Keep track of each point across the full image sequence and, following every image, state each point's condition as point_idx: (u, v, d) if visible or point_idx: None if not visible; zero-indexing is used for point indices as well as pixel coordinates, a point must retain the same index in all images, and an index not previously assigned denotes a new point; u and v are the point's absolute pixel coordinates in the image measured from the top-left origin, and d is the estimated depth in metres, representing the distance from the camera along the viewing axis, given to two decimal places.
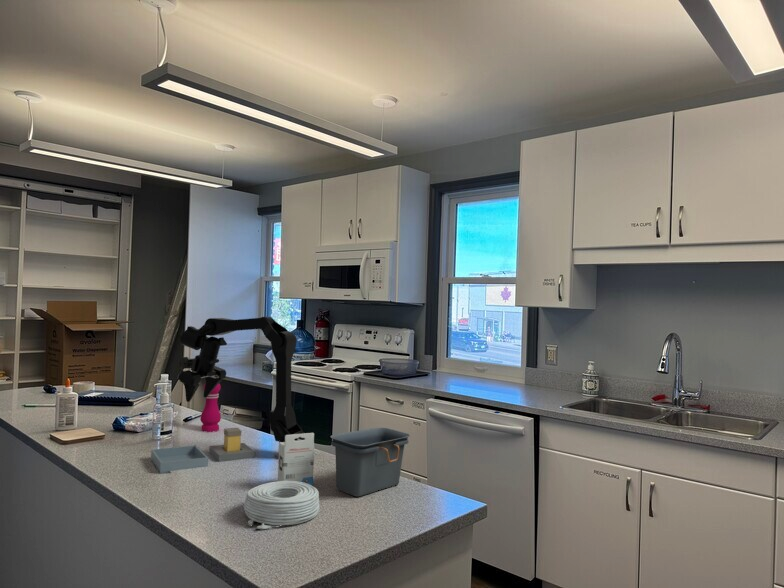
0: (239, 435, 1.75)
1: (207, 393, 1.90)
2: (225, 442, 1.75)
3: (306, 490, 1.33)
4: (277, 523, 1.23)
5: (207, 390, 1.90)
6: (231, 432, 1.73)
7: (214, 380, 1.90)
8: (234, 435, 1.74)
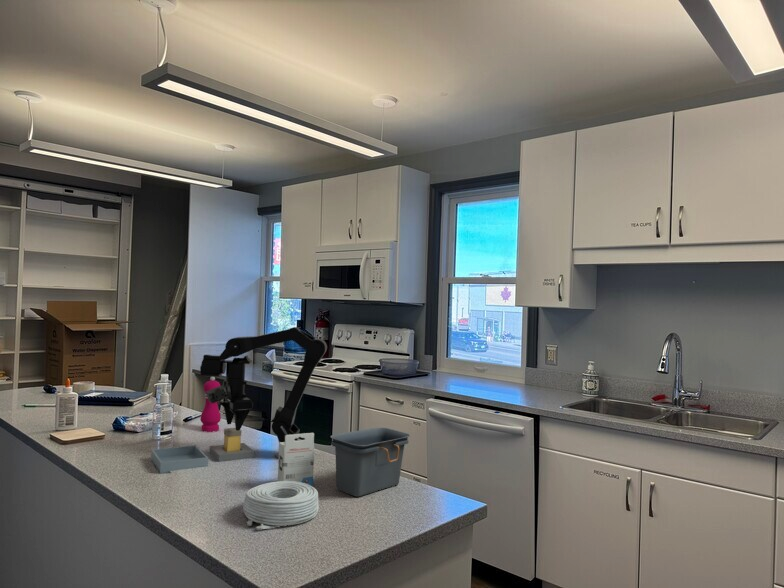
0: (239, 435, 1.75)
1: (231, 419, 1.80)
2: (225, 442, 1.75)
3: (305, 490, 1.33)
4: (276, 523, 1.23)
5: (230, 416, 1.80)
6: (231, 432, 1.73)
7: None
8: (234, 435, 1.74)
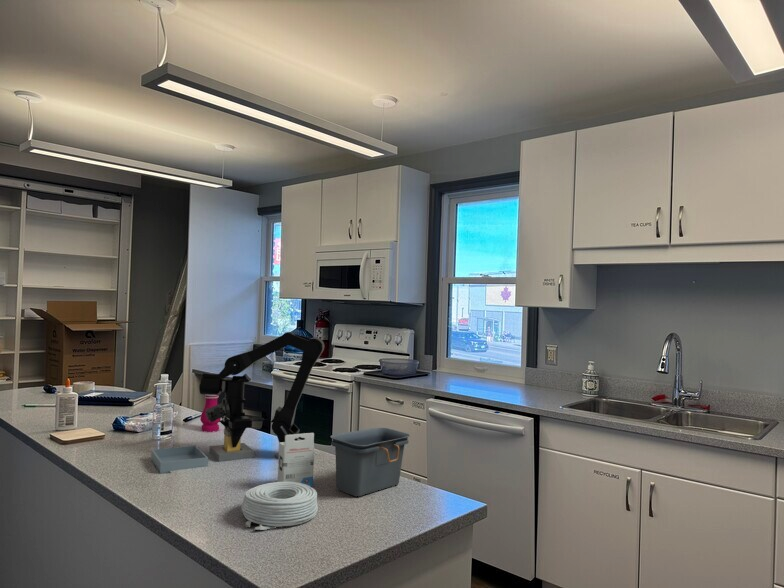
0: None
1: None
2: (225, 442, 1.75)
3: (304, 491, 1.32)
4: (275, 524, 1.22)
5: None
6: None
7: None
8: None
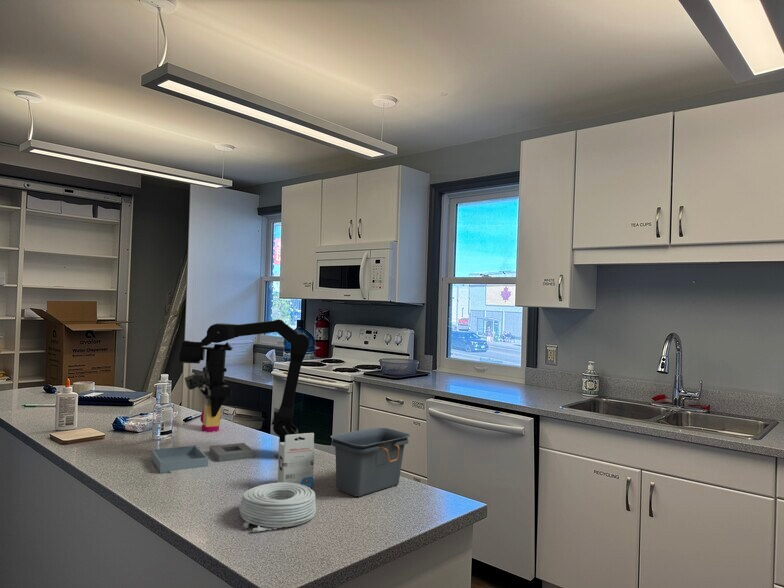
0: None
1: None
2: (205, 411, 1.71)
3: (302, 492, 1.32)
4: (273, 525, 1.22)
5: None
6: None
7: None
8: None
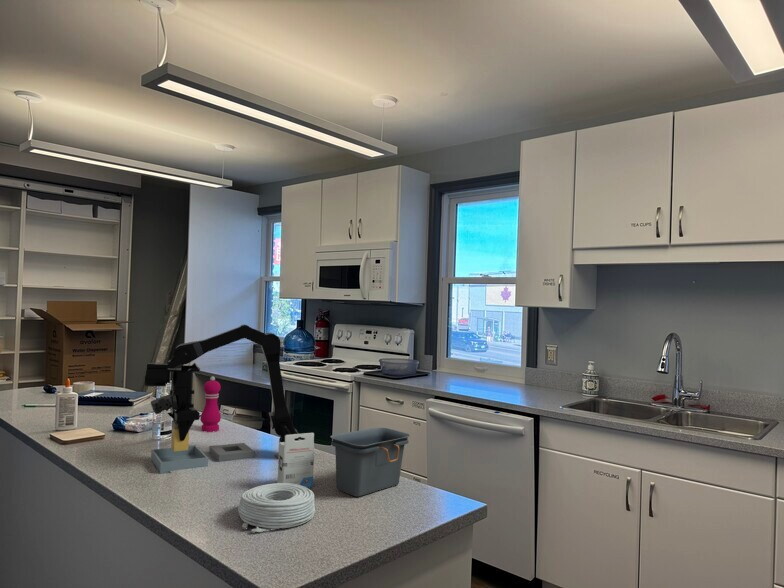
0: None
1: None
2: (173, 435, 1.65)
3: (301, 492, 1.31)
4: (272, 526, 1.21)
5: None
6: None
7: None
8: None
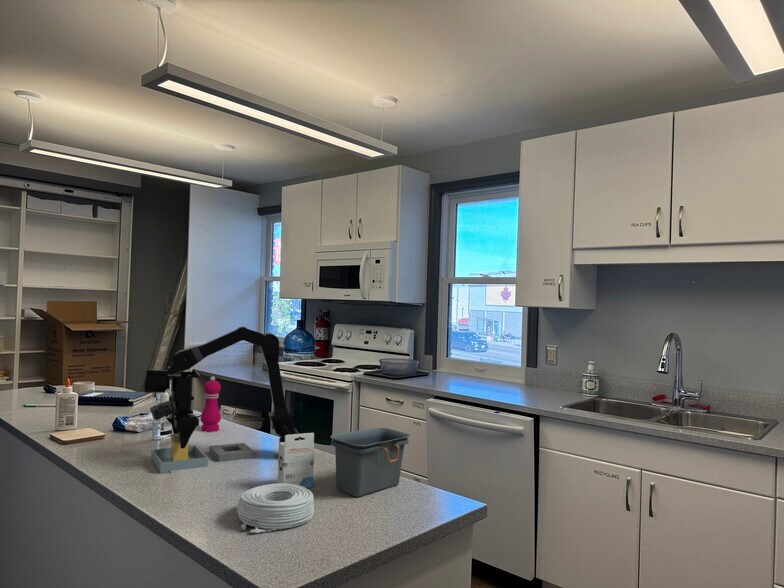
0: None
1: None
2: (172, 448, 1.65)
3: (300, 493, 1.31)
4: (271, 527, 1.21)
5: None
6: (178, 438, 1.64)
7: None
8: None
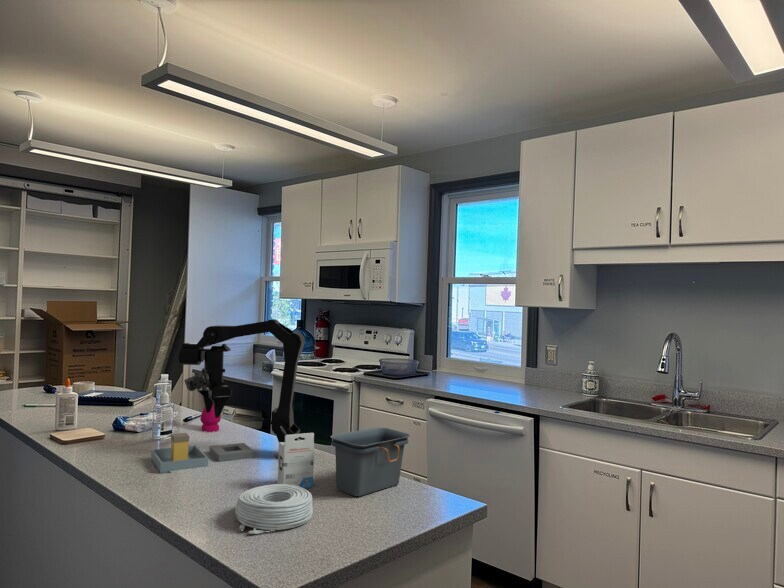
0: (187, 441, 1.65)
1: (210, 407, 1.80)
2: (172, 448, 1.65)
3: (299, 494, 1.30)
4: (269, 528, 1.20)
5: (209, 404, 1.80)
6: (178, 438, 1.64)
7: None
8: (181, 441, 1.64)
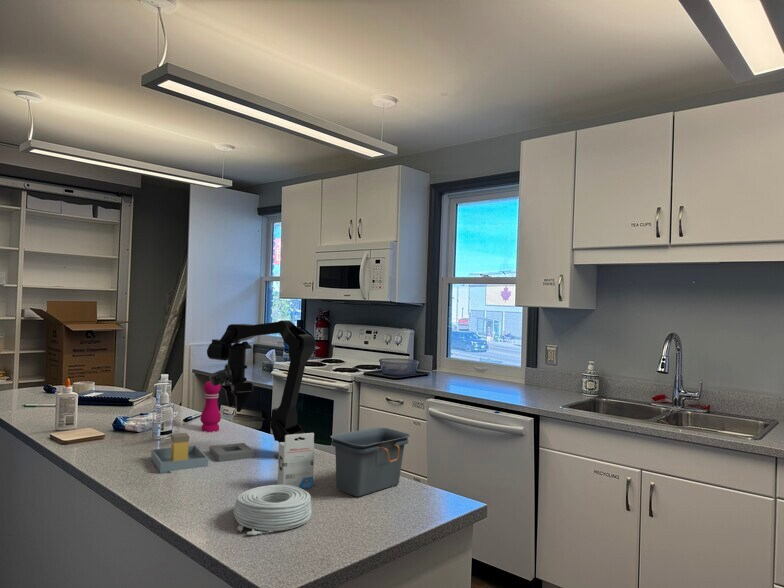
0: (187, 441, 1.65)
1: (232, 401, 1.89)
2: (172, 448, 1.65)
3: (298, 494, 1.30)
4: (268, 529, 1.20)
5: (231, 399, 1.89)
6: (178, 438, 1.64)
7: None
8: (181, 441, 1.64)
